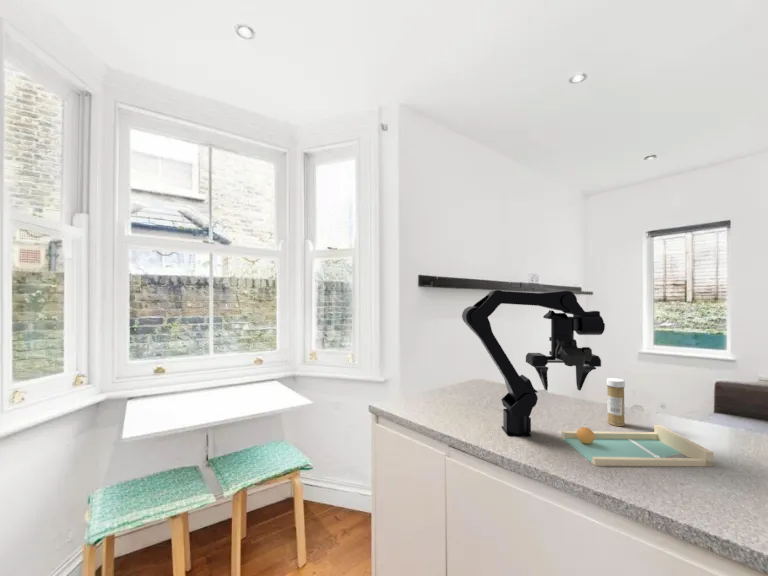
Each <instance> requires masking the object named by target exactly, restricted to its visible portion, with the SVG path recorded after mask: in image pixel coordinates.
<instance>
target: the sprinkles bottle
mask: <svg viewBox="0 0 768 576" xmlns="http://www.w3.org/2000/svg"><path fill="white" fill-rule="evenodd" d="M625 386H626V383H625V380H624V379H622V378H618V377H617V378H616V377H608V378H606V388H607V389H606V390H607V391H606V392H607V393H606V397H607V398H606V401H607V402H606V406H607V407H606V411H607V419H606V422H607V423H608V424H609V425H612V426H614V427H624V426H625V425H626V422H625V413H626V412H625V408H626V407H625Z"/></svg>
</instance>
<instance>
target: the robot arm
mask: <svg viewBox="0 0 768 576" xmlns="http://www.w3.org/2000/svg"><path fill="white" fill-rule="evenodd" d="M501 304H503V305H505V304H506V305H508V304H509V305H520V306H536V307H538V306H539V307H541V308H546V309H549V310H548V311H547V313H545V314H544V315H543V316H542V317H543V319H546V320H550V336H549V337H548V338H549V340H548V341H550V343H551V344H550V346H551V347H550V349H551V350H549V355H545V354H543V353H541V352H528V353H527V354H526V355H525V363H527V364H528V365H530V366H531V367H532V368H534V369H535V371H536V372H537V375H538V376H539V379H540V381H541V382H540V383H541V384H542V386H543V389H544V390H545V391H548V388H549V383H548V380H549V379H548V370H549V366H547V364H549V363H551V364H553V363H554V364H557V363H558V364H560V363H561V364H564V365H565V366H567V367H575V376H576V377H575V378H576V379H575V381H576V389H577V391H581V390H582V388H583V386H584V383H585V381H586V378H587V376H588V375H589V373H591V372H592V371H593V370H596V369H597V368H599V367H602V359H601V357H600V356H599V355H596V354H594V353H593V350H592V348H591V347H589V346H583V347H578V342H577V339H574V338H575V337H574V336H575V334H574V333H576V334H577V335H579V336H602V334H604V333H605V329H606V324H605V323H604V322H605V321H604V319H603V317H602V316H601V312H600V310H589V311H586V310H585V309H583V307H582V306H581V305H580V303H579V302H578V297H577V296H576V295H575V293H574V292H573V291H570V290H552V291H551V290H550V291H544V292H526V291H525V292H523V291H510V290H509V291H508V290H506V291H505V290H500V289H492V290H490V291H489V293H488V294H486V295H485V296H484V297H483V298H481V299H479V300H478V301H477V302H476V303H474V304H473V305H472V306H471V305H470V306H468V307H465V308H464V310H463V311H462V314H461V318H462V320H463V322H464V323H465V325H466V326H467V327H468V328H469V330H470V331H472V332H473V333H474V334H475V335H476V336H477V338H478V339H479V340H480V342H481V344H482V345H483V347H484V349H485V350H486V351H487V353H488V354H489V356H490V358H491V360H492V361H493V363H494V364H495V366H496V367H497V369H498V371H499V372H500V374H501V376H502V378H503V380H504V383H505V386H506V390H507V394H505V395H504V396H503V397H502V398H501V403H502V406H503V407H504V408H503V409H502V411H503V412H502V413H503V417H502V418H503V421H502V423H503V425H502V426H501V429H502V431H503V432H504V433H505V435H507V437H517V438H518V437H519V438H520V437H523V438H526V437H527V438H532V434H531V432H532V418H531V414H532V411H533V408H534V407H536V405H537V403H538V399H539V398H538V395H537V393H538V391H537V389H535V388H534V386H533V384H532V381H531V380H530V378H529V377H527V376H525V375H523V374H521V375H520V374H519V373H518V372H517V370H516V368H515V367H514V365H513V364H512V362H511V360H510V359H509V357H508V356H507V354H506V352H505V351H504V350H503V347H502V346H501V344H500V343H499V341H498V339H497V338H496V335H495V334H494V333H493V330H492V325H491V322H490V319H489V316H491V315H492V314H493V313H494V312H495V311H496V309H497V308H498V307H500V305H501ZM554 310H555V311H558V312H555V311H554ZM560 311H561V312H560ZM568 315H572V316H568Z"/></svg>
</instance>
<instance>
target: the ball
mask: <svg viewBox="0 0 768 576" xmlns="http://www.w3.org/2000/svg"><path fill="white" fill-rule="evenodd" d="M576 431H577V437H578V439H579V440H580V441H581V442H582V443H584V444H590V443H592V442H593V441H594V438H595V436H594V433H593V432H592V431H593V430H592V429H590V428H589V427H585V426H583V427H580V428H578V429H577V430H576Z"/></svg>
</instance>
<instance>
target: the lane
mask: <svg viewBox="0 0 768 576" xmlns="http://www.w3.org/2000/svg"><path fill="white" fill-rule="evenodd" d="M653 428H654V429H653V431H651V432H650V431H647V432H645V431H593V430H592V432H593V433H594V436H595V438H594V441H593V442H592V443H590V444H584V443H582V442H581V441H580V440H579V439H578V437H577V431H578V430H576V431H575V430H574V431H573V430H572V431H571V430H570V431H569V430H562V431H561V439H563V440H564V442H566V443H567V444H568V445H569V446H571V447H572V448H573V449H575V451H577V452H578V453H579V454H580V455H581V456H582V457H584V458H585V459H587V461H589V462H590V463H591V464H592V465H594V466H598V467H599V466H602V467H603V466H604V467H608V466H610V467H611V466H612V467H619V466H624V467H627V466H628V467H629V466H630V467H714V451H712V450H710V449H708V448H707V447H704V446H702V445H700V444H699V443H696V442H694V441H693V440H691V439H689V438H686V437H685V436H682V435H681V434H679V433H677V432H675V431H673V430H671V429H669V428H667V427H665V426H663V425H661V424H654V425H653ZM563 440H562V441H563ZM680 454H682V455H684V456H686V457H672V456H677V455H680ZM657 455H658V456H659V457H660V458H659V457H657ZM654 456H656V457H654Z"/></svg>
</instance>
